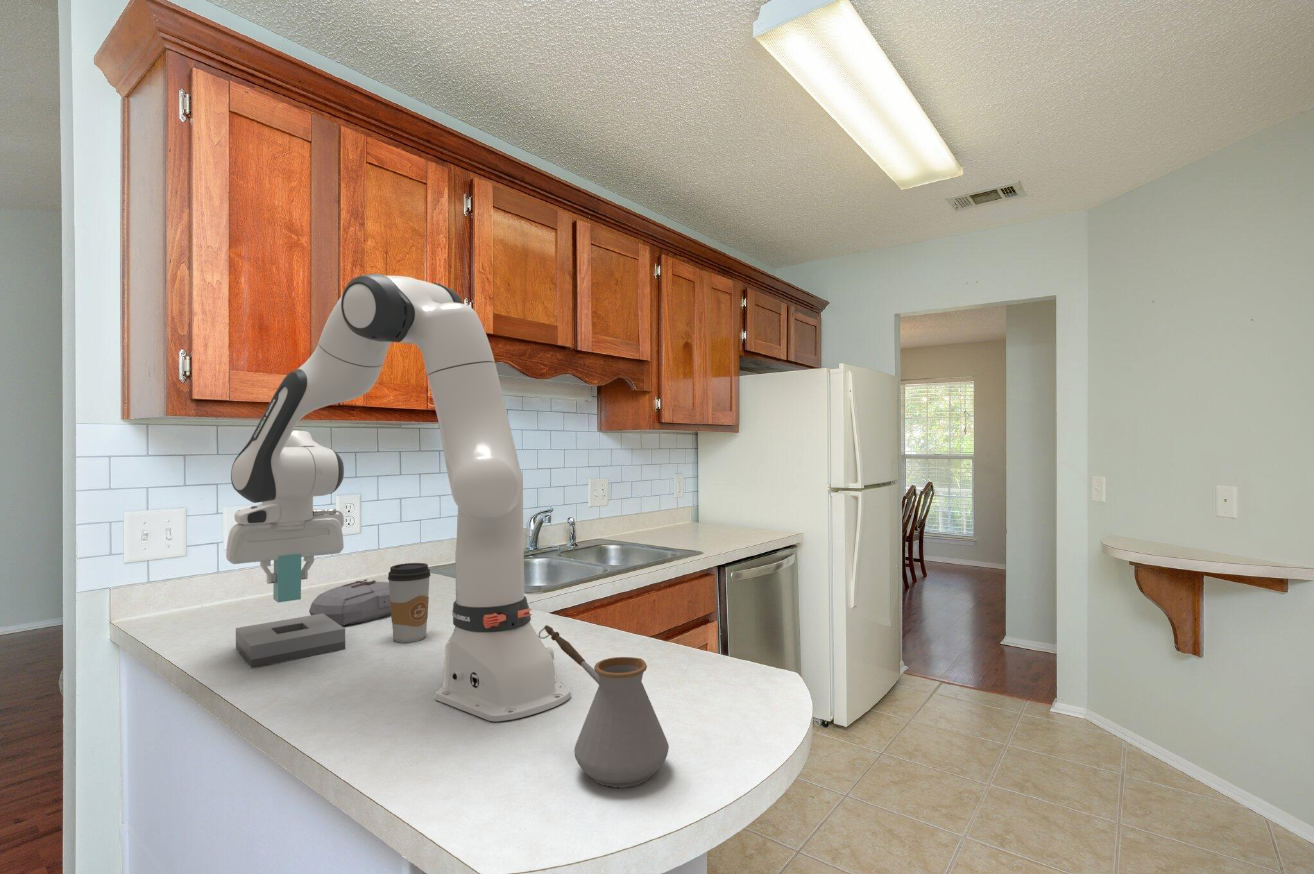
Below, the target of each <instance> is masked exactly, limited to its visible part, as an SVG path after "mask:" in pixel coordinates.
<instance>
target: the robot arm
mask: <svg viewBox="0 0 1314 874" xmlns="http://www.w3.org/2000/svg"><path fill="white" fill-rule="evenodd" d="M392 343H403V344H405V345H406V344H408V345H413V344H414V345H416V346H417V347H418V349H419V350H420V352H421V355H422V358H423V362H424V367H425V372H426V376H427V380H428V385H429V388H430V392H431V397H432V400H433V405H434V409H435V413H436V416H437V421H438V426H439V432H440V439H441V444H442V451H443V456H444V461H445V467H446V471H447V476H448V482H449V486H450V491H451V496H452V499H453V501H454V503H455V505H456V506H457V524H456V539H455V540H456V543H455V553H454V555H455V559H454V560H455V566H454V567H455V600H454V601H453V603H452V611H451V612H452V613H451V614H452V624H453V626H454V629H453V632H452V634H451V636H450V637H449V639H447V642H446V643H445V649H444V662H443V665H444V666H443V680H442V681H443V682H442V686H441V687H440V688H438V689H437V690H436V691H435V696H434V699H435V700H436V701H439V702H441V703H443V704H445V705H448V706H451V707H453V708H455V709H458V710H460V711H464V712H466V713H469V714H470V715H474V716H476V717H479V718H482V719H484V720H487V721H489V722H505V721H511V720H517V719H520V718H525V717H529V716H532V715H536V714H538V713H541V712H544V711H547V710H550V709H553V708H555V707H558V706H560V705H561V704H563V703H565V702H567V701H568V700H569V699H570V698H571V697H572V695H571V690H570V689H569V688H568V687H567V686H566V685H565V684H563V683H562V682H561V681H560V680H558V679H557V678H556V676H555V675H556V673H555V672H556V671H555V665H554V660H555V653H554V652H555V651H554V650H553V647H550V646H549V647H546V646H545V644H544V642H543V641H542V640H541V638H540V637H539V634H538V633H537V632H536V630H535V629H534V627H533V625H532V624H531V620H532V619H531V616H532V615H533V614H532V613H530V612H531V611H532V608H530V606H529V604H528V599H527V596H525V558H524V557H525V554H524V551H525V545H524V538H525V537H524V477H523V473H522V469H521V466H520V463H519V459H518V454H517V450H516V449H517V448H516V446H515V441H514V437H513V433H512V430H511V424H510V420H509V417H508V416H509V415H508V411H507V406H506V403H505V399H504V395H503V391H502V386H501V383H500V378H499V374H498V370H497V369H498V368H497V365H496V361H495V358H494V354H493V351H492V347H491V344H490V342H489V339H488V336H487V333H486V331H485V329H484V326H483V323H482V321H481V320H480V317H479V315H478V313H477V311H475V309H473V308H472V307H471V306H469V305H467V304H464V301H463V300H462V298H461V297H460V295H459V294H458V293H457V292H456V291H455V290H454V289H452V288H450V287H448V286H446V285H443V284H441V283H438V282H429V281H425V280H421V279H416V278H414V277H410V276H403V275H384V274H381V273H370V274H363V275H359V276H357V277H354V278H352V279H351V280H350V281H349V282H348V283H347V284H346V286H345V287H344V290H343V292H342V295H341V297H339V299H338V300H337V302H336V304H335V305H334V306H333V309H332V310H331V312H330V315H328V318H327V320H326V322H325V325H324V326H323V329H322V331H321V335H320V336H319V339H318V343H317V346H316V348H315V349H314V351H313V353H312V354H310V357H309V358H307V360H306V361H305V362H304V363H303V364H301V365H300V367H298V368H297V369H294V370H292V371H290V372H289V373H287V374H286V375H285V376H284V378H283V379H282V380H281V382H280V384H279V385H278V388H277V389H276V391H275V392H274V393H273V396H272V398H271V399H270V401H269V403H268V405H267V407H266V409H265V410H264V413H263V414H262V416H261V418H260V419H259V422H258V423H257V425H256V427H255V430H254V431H253V433H252V435H251V437H250V439H249V440H248V442H247V443H246V445H245V446H244V447H243V448H242V449H241V451H240V452H239V453H238V454H237V456H236V457H235V459H234V461H233V464H232V466H231V469H230V470H231V471H230V480H231V481H230V483H231V484H232V485H231V486H232V487H233V490H235V492H236V493H238V494H239V495H240V496H241V497H242V498H244V499H246V500H247V501H249V502H251V503H253V504H256V505H254V506H250V507H246V508H244V509H240V510H238V511H236V512H235V513H234V521H235V522H236V523H235V524H234V525H233V526H232V527H231V529H230V531H229V534H228V538H227V544H226V552H225V556H226V558H225V559H226V560H227V561H228V562H229V563H230V564H233V565H239V564H247V563H260V567H261V569H262V571H263V572H264V573H265V574H266V584H268V585H270V584H274V583H277V579H276V578H277V574H276V573H274V572H272V571H271V570H270V568H269V567H270V566H271V563H272V561H274V560H278V556H284V555H294V554H301V558H303V561H304V562H305V564H304V565H303V567H301V581H302V580H308V574H309V573H308V572H309V570H310V568H311V567H312V566H313V564H314V562H315V557H316V556H326V555H327V556H328V555H336V554H340V553H341V552H342V551H343V549H344V548H345V547H344V546H345V545H344V535H343V526H344V525H345V524H344V522H345V521H344V519H345V518H344V513H342V511H340V510H337V509H336V508H329V509H323V508H322V509H314V497H322V496H327V495H332V494H333V493H334V492H336V491H337V490H338V488H339V487H340V486H341V484H342V482H343V480H344V477H345V476H344V475H345V468H344V467H345V466H344V465H345V464H344V461H343V459H342V457H341V456H340V455H339V454H338V452H337V451H335V450H334V449H333V448H329V447H325V446H323V445H321V444H320V443H317V442H316V441H315V440H313V438H312V435H311V433H310V432H309V431H306V430H303V429H295V428H296V426H297V425H298V423H299V421H301V419H302V418H304V417H305V416H306V415H308V414H310V413H312V412H314V411H315V410H319V409H322V408H325V407H328V406H331V405H334V404H340V403H344V402H349V401H353V400H355V399H358V398H360V397H362V396H363V395H365V394H367V393H368V392H369V391H370V390H372V388H374V386H375V384H376V383H377V381H378V380H379V377H380V374H381V372H382V369H383V366H384V363H385V361H386V357H387V354H388V351H389V349H390V346H391V344H392Z"/></svg>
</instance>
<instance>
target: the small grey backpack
mask: <svg viewBox="0 0 1314 874" xmlns="http://www.w3.org/2000/svg"><path fill="white" fill-rule="evenodd" d="M308 612H309V614H310V615H309V616H311V615H316V614H322V613H323V614H325V615H326V616H328V617H329V618H330V619H332V620H333V621H335V622H336V623H338V624H339V625H341V626H342V627H343V626H351V625H358V624H363V623H366V622H370V621H374V620H377V619H381V618H385V617H387V616H391V606H390V588H389V581H377V580H375V579H373V580H372V581H368V579H363V580H356V581H354V582H351V583H347V584H342V585H341V586H337V587H333V588H331V589H328V590H326V591H324V592H322V593H320V594H318V595H317V596H316V597H315V598H314V599H313V601H312V602H311V604H310V607H309V610H308Z"/></svg>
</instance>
